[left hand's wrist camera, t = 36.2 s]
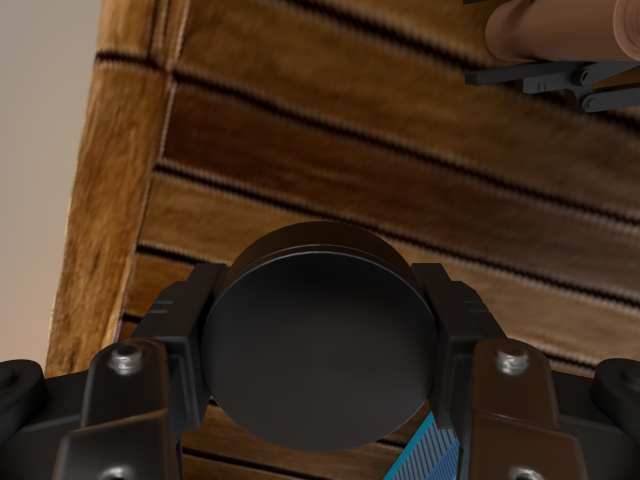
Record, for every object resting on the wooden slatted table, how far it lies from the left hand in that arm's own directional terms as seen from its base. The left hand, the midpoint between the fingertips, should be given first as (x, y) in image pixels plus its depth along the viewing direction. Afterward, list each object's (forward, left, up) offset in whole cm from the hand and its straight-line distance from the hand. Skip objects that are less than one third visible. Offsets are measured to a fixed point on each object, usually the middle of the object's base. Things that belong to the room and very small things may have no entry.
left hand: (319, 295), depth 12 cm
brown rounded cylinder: (-13, +11, -29) cm, 34 cm away
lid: (0, 0, +3) cm, 3 cm away
